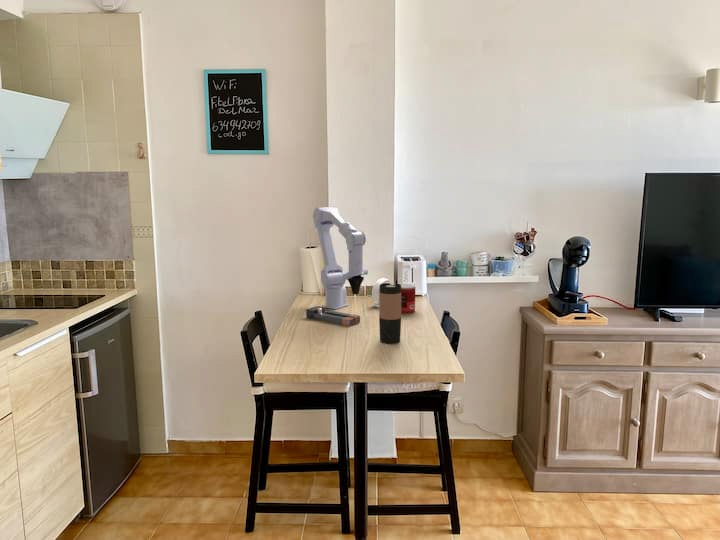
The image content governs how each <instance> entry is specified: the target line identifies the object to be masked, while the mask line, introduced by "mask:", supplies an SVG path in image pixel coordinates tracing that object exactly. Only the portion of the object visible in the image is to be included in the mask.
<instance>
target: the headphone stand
mask: <svg viewBox="0 0 720 540" xmlns="http://www.w3.org/2000/svg"><path fill="white" fill-rule="evenodd" d="M389 282H390V280H389V279H388V278H385V277H382V278H379V279H378V280H376V281H375V282H374V284H373V286H372V289H371V296H372V299H373V301H374V302H375V303H373V306H374V307H377V308H379V296H380V284H383V283H389Z"/></svg>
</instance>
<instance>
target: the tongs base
mask: <svg viewBox="0 0 720 540" xmlns="http://www.w3.org/2000/svg"><path fill="white" fill-rule="evenodd" d="M325 312H326V308H325V307H321V306H319V305H316V306H313V307H309V308H306V310H305V314H306V315H305V317H306V319H310V320H316V321H320V322H326V323H330V324H337V325H341V326H346V327H351V326H355V324H354V318H350V317H342V316H336V315H331V314H326V313H325Z"/></svg>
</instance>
